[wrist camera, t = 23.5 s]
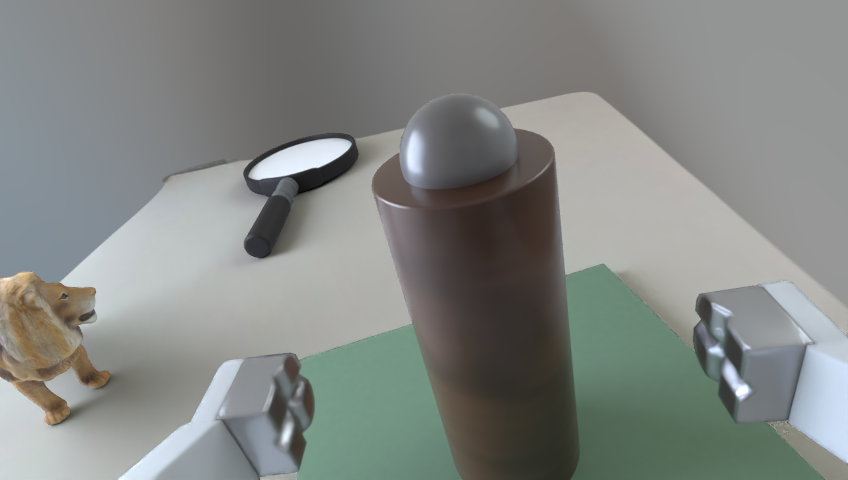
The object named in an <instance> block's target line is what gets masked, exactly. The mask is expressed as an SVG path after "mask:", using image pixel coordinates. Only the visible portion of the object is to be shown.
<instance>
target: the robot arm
mask: <svg viewBox="0 0 848 480" xmlns="http://www.w3.org/2000/svg"><path fill="white" fill-rule="evenodd" d="M695 310H696V312H697V314H698V315H699V317H700V318H701V320H700V322H699V323H698V324H697V325H696V326H695V327H694V333H693V343H694V348H695V353H696V356H697V359H698V361H699V364H700V366H701V368H702V369H703V371H704V373H705V375H706V376H707V377H709V378H711V379H713V380H714V381H716V382H718V383H719V388H718V396H719V398H720V399H721V401H722V403H723V404H724V406H725V408H726V409H727V411H728V412H729V414H730V416H731V417H732V419H733V421H734V422H735V424H749V423H761V422H773V421H785V420H788V423H789V424H790V425H792V426H793V427H795V428H796V429H798V430H799V431H800V432H802V433H803V434H805V435H806V436H808V437H809V438H811V439H812V440H814V441H815V442H817V443H818V444H819V445H821V446H822V447H824V448H825V449H827V450H828V451H830V452H831V453H833V454H834V455H835V456H837V457H838V458H840V459H841V460H843V461H844V462H846V463H847V464H848V336H847V335H846V334H845V333H844V332H843V331H842V330H841V329H840V328H839V327H838V326H837V325H836V324H835V323H834V322H833V321H832V320H831V319H830V318H829V317H828V316H827V315H826V314H825V313H824V312H823V311H821V310H820V309H819V308H818V307H817V306H816V305H815V304H814V303H813V302H812V301H811V300H810V299H809V298H808V297H807V296H806V295H805V294H804V293H803V292H802V291H801V290H800V289H799V288H798V287H797V286H796V285H795V284H794V283H792V282H790V281H787V280H783V281H777V282H771V283H764V284H758V285H756V286H748V287H741V288H734V289H728V290H721V291H715V292H708V293H701V294H699V296H698V298H697V300H696V308H695ZM300 369H301V363H300V361H299V359H298V358H297V356H296V354H293V353H283V354H275V355H266V356H258V357H249V358H246V359H237V360H228V361H225V362H224V363H223V364H221V365H220V367H219V369H218V371H217V373H216V375H215V377H214V378H213V380H212V382H211V384H210V386H209V388H208V390H207V392H206V394H205V396H204V398H203V400H202V401H201V403H200V405H199V407H198V409H197V411H196V413H195V415H194V417H193V419H192V421H191V423H190V424H183V425H182V426H181V427H180V428H178V429H177V430H176V431H175V432H174V433H172V434H171V435H170V436H169V437H168V438H167V439H165V440H164V441H163V442H162V443H161V444H159V445H158V446H157V447H156V448H155V449H154V450H152V451H151V452H150V453H149V454H148V455H146V456H145V457H144V458H143V459H142V460H141V461H139V462H138V463H137V464H136V465H135V466H133V467H132V468H131V469H130V470H129V471H127V472H126V473H125V474H124V475H123V476H122V477H120V478H119V479H118V480H260V478H259V477H264V476H271V475H278V474H285V473H293V472H299V470H300V466H301V462H302V459H303V455H304V451H305V448H306V444H307V442H306V440H305V438H304V436H303V433H304V432H305V431H306V430H307V428H308V427H309V426H310V425H311V424H312V421H313V417H314V413H315V397H314V392H313V388H312V386H311V384H310V382H309V380H308V379H307V378H305V377H304V376H302V375H300V374H299V372H300Z"/></svg>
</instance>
